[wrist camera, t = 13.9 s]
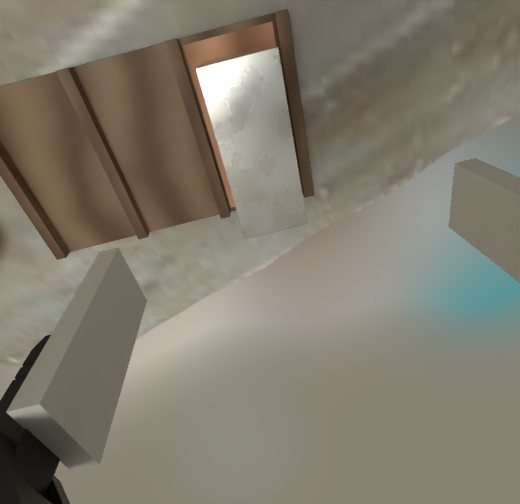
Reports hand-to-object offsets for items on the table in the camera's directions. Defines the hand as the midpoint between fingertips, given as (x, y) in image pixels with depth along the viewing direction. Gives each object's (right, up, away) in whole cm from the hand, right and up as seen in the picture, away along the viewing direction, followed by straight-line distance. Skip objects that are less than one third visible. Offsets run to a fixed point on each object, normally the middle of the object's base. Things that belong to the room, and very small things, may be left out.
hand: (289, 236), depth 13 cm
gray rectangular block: (-2, +11, +18) cm, 21 cm away
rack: (-11, +10, +19) cm, 24 cm away
